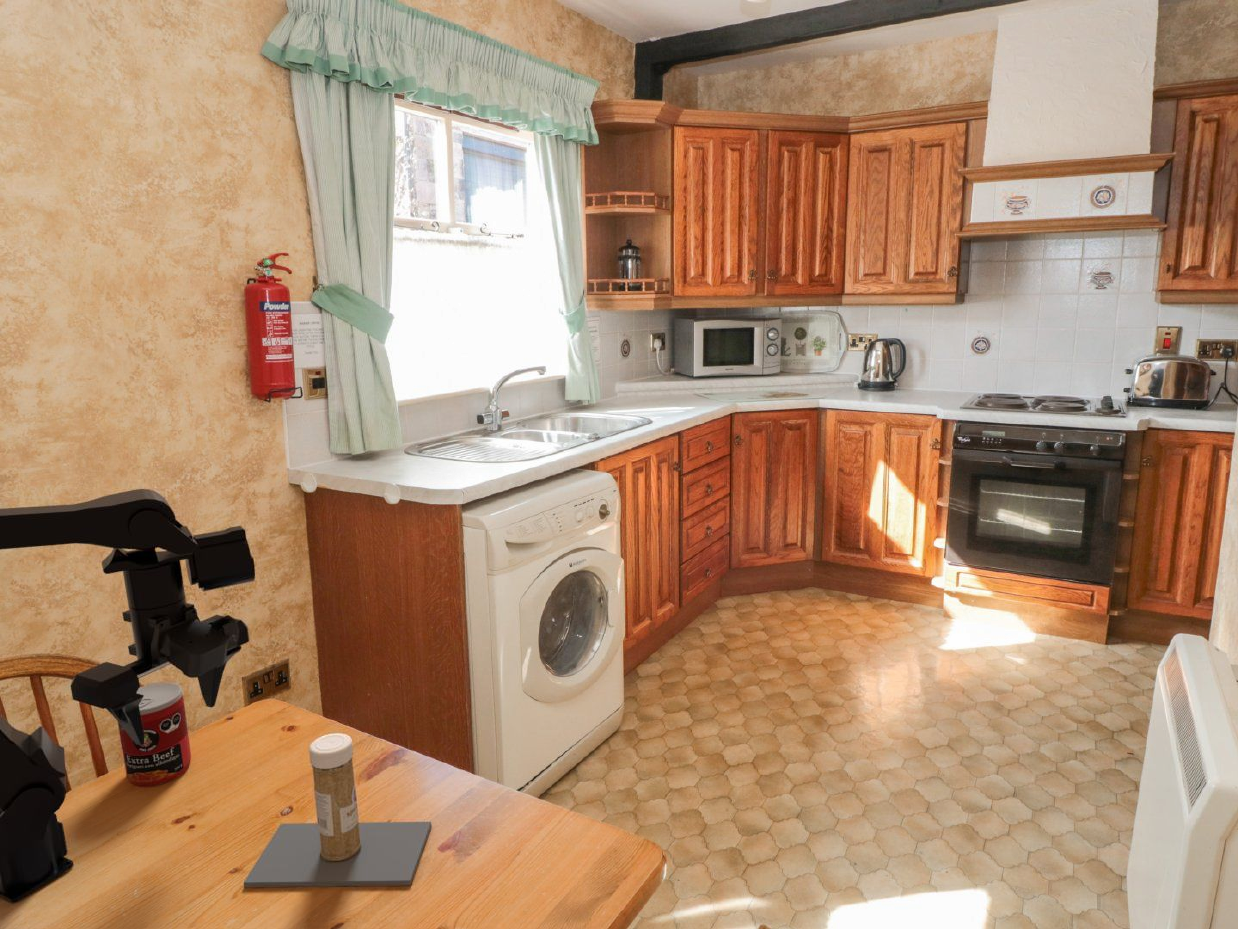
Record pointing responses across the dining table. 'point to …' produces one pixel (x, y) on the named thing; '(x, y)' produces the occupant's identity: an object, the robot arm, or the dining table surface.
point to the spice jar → (335, 796)
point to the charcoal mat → (377, 862)
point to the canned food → (158, 737)
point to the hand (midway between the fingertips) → (176, 724)
